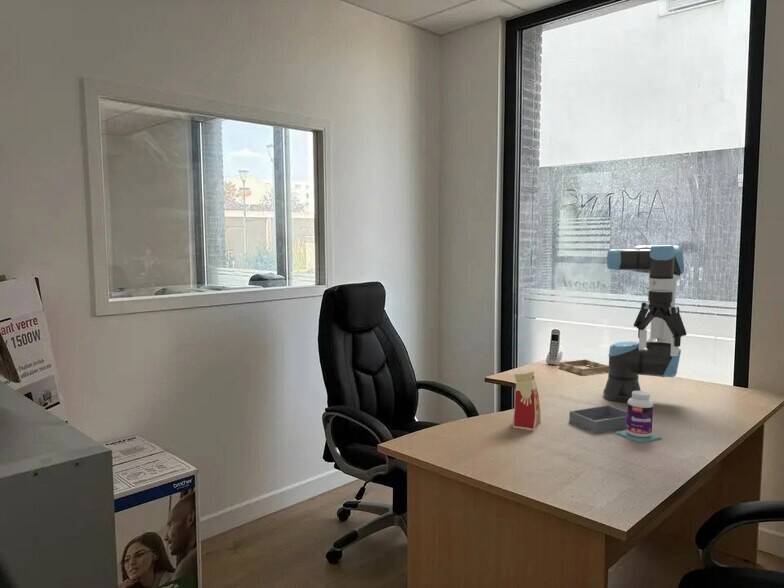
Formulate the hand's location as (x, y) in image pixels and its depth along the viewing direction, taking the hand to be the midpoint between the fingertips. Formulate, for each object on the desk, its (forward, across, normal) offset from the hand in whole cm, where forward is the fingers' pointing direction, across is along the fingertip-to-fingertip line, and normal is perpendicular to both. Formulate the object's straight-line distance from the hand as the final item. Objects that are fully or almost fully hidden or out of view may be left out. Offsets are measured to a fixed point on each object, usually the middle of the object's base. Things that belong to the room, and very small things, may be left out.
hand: (658, 351), depth 202 cm
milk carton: (+27, -21, -39) cm, 52 cm away
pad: (+27, +4, -11) cm, 30 cm away
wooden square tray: (+29, -79, +38) cm, 93 cm away
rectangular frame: (+27, -12, -13) cm, 33 cm away
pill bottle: (+27, +4, -11) cm, 29 cm away
